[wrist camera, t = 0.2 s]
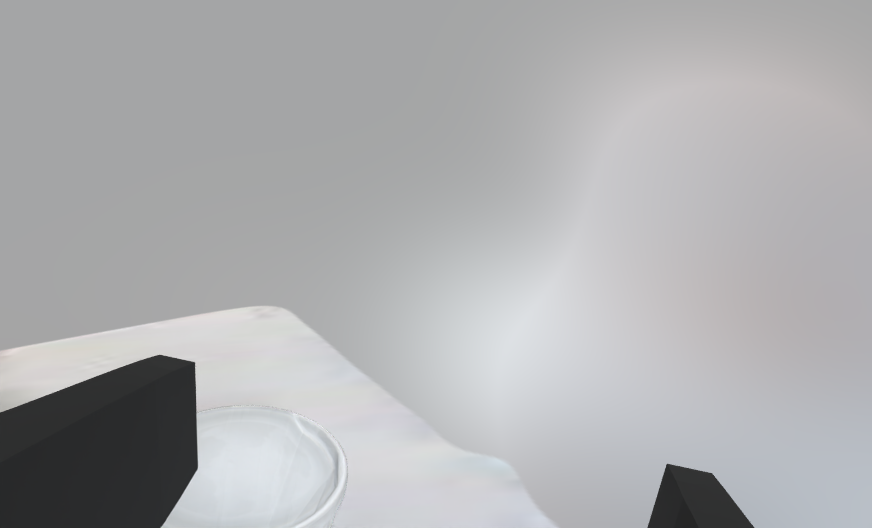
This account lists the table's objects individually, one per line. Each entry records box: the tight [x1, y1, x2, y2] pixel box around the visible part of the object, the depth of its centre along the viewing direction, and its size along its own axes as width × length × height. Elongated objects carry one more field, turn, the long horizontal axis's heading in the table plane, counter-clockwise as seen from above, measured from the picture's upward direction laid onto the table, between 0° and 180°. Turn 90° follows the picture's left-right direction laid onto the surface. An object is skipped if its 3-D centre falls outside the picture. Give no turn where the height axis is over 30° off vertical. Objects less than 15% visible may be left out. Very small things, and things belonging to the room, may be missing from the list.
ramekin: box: [161, 405, 348, 528], centre depth 34 cm, size 11×11×5 cm
